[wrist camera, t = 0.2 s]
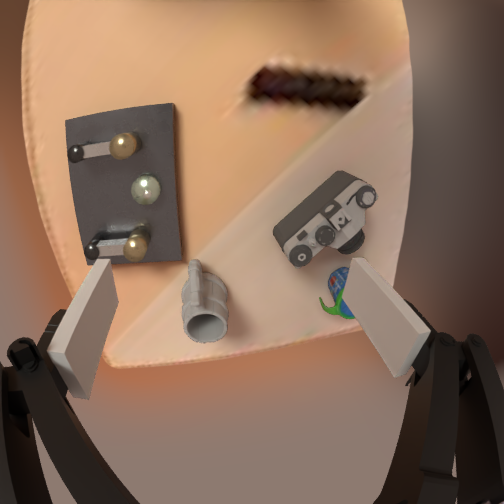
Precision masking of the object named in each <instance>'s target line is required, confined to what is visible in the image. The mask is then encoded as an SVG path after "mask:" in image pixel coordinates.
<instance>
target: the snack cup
mask: <svg viewBox="0 0 504 504" xmlns="http://www.w3.org/2000/svg"><path fill="white" fill-rule="evenodd" d="M348 273H349V268H346V267H343V268H340V269H338V270H336V271H335V272H333V273H332V274H331V276H330V278H329V282H328V286H329V289H330V292H331V294H332V297H333V299H334V302H335V306H334V307H331V308H328V307H326V306H325V305H324V303H323V302H322V299H321V297H319V299H320V303H321V305H322V308H323V309H324V310H325V311H326V312H327V313H329V314H333V315H340V316H342V317H343V318H346V319H354V318H355V316H354V315H353V313H352V312H351V310H350V309H349V307H348V306H347V305H346V303H345V302H344V300H343V299H342V295H343V291H344V288H345V284H346V280H347V277H348Z"/></svg>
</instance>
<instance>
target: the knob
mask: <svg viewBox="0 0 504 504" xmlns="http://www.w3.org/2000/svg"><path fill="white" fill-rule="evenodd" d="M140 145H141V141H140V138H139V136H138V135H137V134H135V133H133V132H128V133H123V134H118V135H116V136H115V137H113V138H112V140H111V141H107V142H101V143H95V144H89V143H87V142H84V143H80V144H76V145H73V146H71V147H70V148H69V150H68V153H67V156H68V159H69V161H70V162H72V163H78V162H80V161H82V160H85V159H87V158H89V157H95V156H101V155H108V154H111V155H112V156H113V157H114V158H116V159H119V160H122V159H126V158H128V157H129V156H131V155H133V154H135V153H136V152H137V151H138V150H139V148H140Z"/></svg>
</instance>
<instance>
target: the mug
mask: <svg viewBox="0 0 504 504" xmlns="http://www.w3.org/2000/svg"><path fill="white" fill-rule="evenodd" d="M188 273H189V279H188V281H186V283H185V284H184V286H183V288H182V301H183V303H184V305H183V306H182V319H183V321H184V331H185V333H186V334H187V335H188V337H189V338H190V339H192V340H193V341H195V342H199V343H207V342H216V341H218V340H220V339H222V338H223V337H224V336H225V334H226V332H227V329H228V324H227V320H228V308H227V305H226V301H227V289H226V287H225V285H224V283H223V282H222V281H221V279H219V278H218V277H217V276H216V275H214V274H211V273H206V272H204V273H202V269H201V264H200V261H199V260H198V259H193V260H191V261H190V263H189V267H188Z"/></svg>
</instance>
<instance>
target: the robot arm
mask: <svg viewBox="0 0 504 504" xmlns="http://www.w3.org/2000/svg"><path fill="white" fill-rule="evenodd" d="M342 299H343V300H344V302H345V303H346V305H347V306H348V307H349V309H350V310H351V312H352V313H353V315H354V316H355V318H356V319H357V321H358V322H359V324H360V325H361V327H362V328H363V330H364V331H365V333H366V334H367V336H368V337H369V339H370V340H371V342H372V344H373V345H374V346H375V348H376V350H377V351H378V353H379V354H380V356H381V357H382V359H383V361H384V362H385V364H386V365H387V367H388V369H389V370H390V372H391V373H392V375H393V377H398V376H402V375H405V374H406V373H407V372H408V370H409V369H410V367H411V366H413V368H414V369H415V371H414V372H413V374H412V375H411V377H410V378H409V380H408V381H407V383H406V385H405V386H408V384H409V383H410V382H411V384H410V390H409V395H408V400H407V405H406V410H405V415H404V419H403V423H402V428H401V431H400V435H399V439H398V443H397V446H396V450H395V453H394V456H393V460H392V463H391V466H390V469H389V472H388V475H387V478H386V481H385V483H384V486H383V489H382V491H381V493H380V495H379V497H378V498H377V499H376V500H375V501H374V503H373V504H455V502H456V498H457V504H504V389H503V386H502V383H501V381H500V378H499V375H498V372H497V370H496V367H495V364H494V362H493V360H492V357H491V354H490V352H489V350H488V347H487V345H486V343H485V341H484V340H483V339H482V338H481V337H480V336H479V335H476V334H469V335H468V336H467V338H466V339H465V341H464V342H457V341H456V340H455V339H454V338H453V337H452V336H451V335H449V334H447V333H443V332H440V333H437V331H436V330H435V329H434V328H433V327H432V326H431V325H430V323H429V322H428V321H427V320H426V319H425V318H424V317H422V314H421V313H420V312H418V310H417V309H416V308H415V307H414V305H413V304H411V303H409V302H408V301H407V300H405V299H402V298H401V296H400V295H399V294H398V293H397V292H396V291H395V290H394V289H393V288H392V287H391V286H390V285H389V283H388V282H387V281H386V280H385V279H384V278H383V277H382V276H381V275H380V274H379V273H378V272H377V271H376V270H375V269H374V268H373V267H372V266H371V265H370V264H369V263H368V262H367V261H366V260H365V259H364V258H352V261H351V265H350V269H349V273H348V277H347V280H346V284H345V288H344V291H343V295H342ZM118 303H119V301H118V297H117V292H116V287H115V282H114V277H113V272H112V266H111V261H110V259H97V260H96V262H95V263H94V265H93V266H92V268H91V270H90V271H89V273H88V275H87V276H86V278H85V280H84V281H83V283H82V285H81V286H80V288H79V290H78V291H77V293H76V295H75V297H74V298H73V300H72V302H71V304H70V306H69V308H68V309H67V310H64V309H60V310H59V311H58V312H56V313H55V314H54V315H53V316H52V318H51V320H50V322H49V323H48V325H47V327H46V329H45V332H44V333H43V335H42V336H41V338H40V340H39V342H38V344H37V346H36V344H35V343H34V341H33V340H32V339H30V338H25V337H23V338H20V339H17V340H16V341H14V342H13V343H12V344H11V345H10V346H9V348H8V350H7V357H8V358H9V360H10V362H11V363H12V365H13V366H11V367H3V365H2V364H1V362H0V504H53V503H52V500H51V497H50V494H49V491H48V488H47V485H46V481H45V478H44V474H43V471H42V467H41V463H40V459H39V454H38V450H37V445H36V440H35V434H34V428H33V422H32V418H33V421H34V423H35V426H36V428H37V430H38V433H39V435H40V437H41V440H42V442H43V444H44V446H45V448H46V450H47V452H48V454H49V456H50V458H51V460H52V462H53V464H54V466H55V468H56V469H57V471H58V473H59V475H60V476H61V478H62V480H63V482H64V483H65V485H66V487H67V488H68V490H69V491H70V493H71V495H72V496H73V498H74V499H75V501H76V502H77V504H140V503H139V502H138V501H137V500H136V499H135V498H134V496H133V495H132V494H131V493H130V492H129V491H128V489H127V488H126V487H125V486H124V485H123V483H122V482H121V481H120V480H119V478H118V477H117V476H116V474H115V473H114V472H113V471H112V469H111V468H110V467H109V465H108V464H107V462H106V461H105V460H104V458H103V457H102V456H101V454H100V453H99V451H98V450H97V448H96V447H95V445H94V444H93V442H92V441H91V439H90V437H89V436H88V434H87V433H86V431H85V429H84V428H83V426H82V424H81V423H80V421H79V419H78V417H77V416H76V414H75V412H74V411H73V409H72V407H71V405H70V403H69V401H68V400H67V398H66V394H67V390H69V392H70V393H71V395H72V396H73V397H75V398H81V399H87V400H89V398H90V394H91V390H92V386H93V382H94V379H95V375H96V371H97V368H98V364H99V361H100V357H101V354H102V351H103V348H104V344H105V341H106V338H107V335H108V332H109V329H110V326H111V323H112V320H113V317H114V314H115V312H116V309H117V306H118ZM470 371H471V376H472V377H471V378H470V379H469V380H468V379H467V376H468V374H469V373H470ZM454 456H455V457H456V472H457V478H456V477H453V476H452V469H453V463H454Z"/></svg>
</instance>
